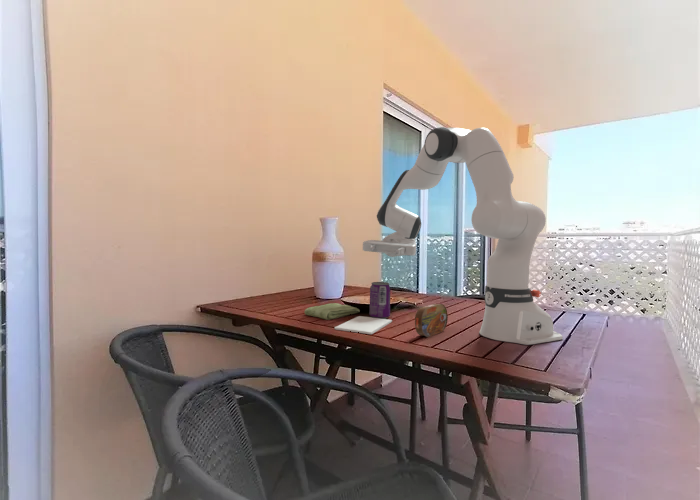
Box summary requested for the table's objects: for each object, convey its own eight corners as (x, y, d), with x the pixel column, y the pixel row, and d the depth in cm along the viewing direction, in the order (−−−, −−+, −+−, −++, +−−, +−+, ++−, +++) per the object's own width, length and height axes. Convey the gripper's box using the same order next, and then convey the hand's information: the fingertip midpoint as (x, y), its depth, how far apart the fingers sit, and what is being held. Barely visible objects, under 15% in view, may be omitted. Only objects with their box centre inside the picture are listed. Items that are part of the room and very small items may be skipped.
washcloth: (361, 313, 137) (361, 305, 137) (328, 321, 124) (328, 312, 124) (335, 308, 146) (335, 300, 146) (301, 315, 132) (301, 306, 132)
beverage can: (393, 316, 131) (394, 282, 131) (384, 320, 125) (384, 284, 125) (375, 314, 135) (376, 281, 135) (365, 317, 129) (366, 283, 129)
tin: (422, 339, 103) (422, 309, 103) (412, 337, 105) (413, 307, 105) (448, 330, 114) (449, 302, 114) (439, 328, 117) (439, 301, 116)
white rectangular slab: (358, 317, 129) (358, 316, 129) (392, 321, 124) (392, 319, 124) (334, 329, 113) (334, 327, 113) (371, 334, 108) (371, 332, 108)
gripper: (368, 235, 151) (357, 239, 138) (419, 239, 144) (412, 244, 131) (367, 250, 152) (356, 256, 139) (418, 255, 145) (411, 262, 132)
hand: (384, 250), depth 135 cm, fingers open, 8 cm apart
